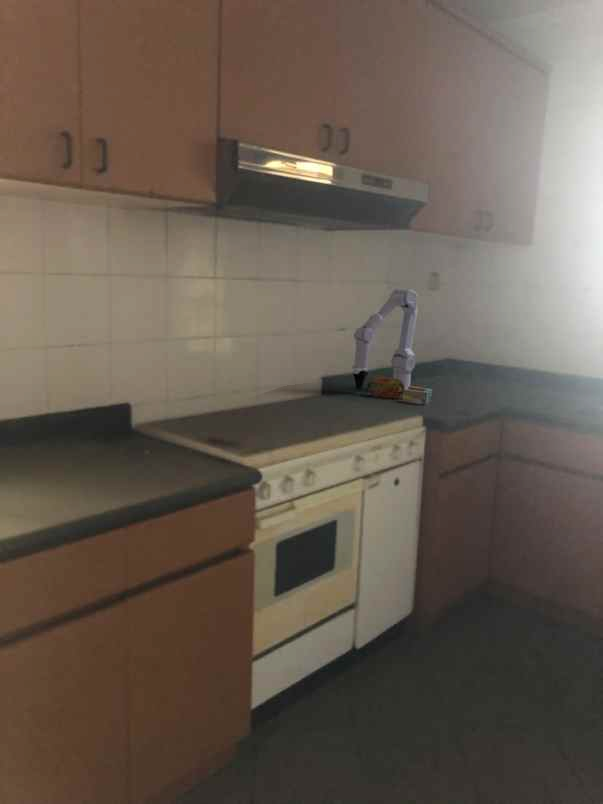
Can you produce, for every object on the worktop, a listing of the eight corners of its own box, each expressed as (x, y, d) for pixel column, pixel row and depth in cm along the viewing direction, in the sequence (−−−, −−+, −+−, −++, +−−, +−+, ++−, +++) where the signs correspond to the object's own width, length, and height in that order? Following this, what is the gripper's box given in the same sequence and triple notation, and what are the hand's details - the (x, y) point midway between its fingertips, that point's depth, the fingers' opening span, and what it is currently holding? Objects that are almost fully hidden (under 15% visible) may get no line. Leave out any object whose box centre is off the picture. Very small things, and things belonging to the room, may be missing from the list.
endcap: (408, 397, 276) (409, 386, 275) (430, 401, 273) (432, 389, 272) (402, 401, 267) (403, 389, 266) (426, 405, 264) (427, 392, 263)
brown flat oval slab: (366, 395, 275) (368, 375, 274) (368, 394, 278) (369, 374, 277) (402, 400, 271) (404, 379, 269) (403, 398, 274) (406, 378, 272)
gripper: (357, 353, 284) (355, 385, 286) (347, 357, 270) (344, 390, 273) (373, 355, 281) (370, 387, 284) (364, 359, 268) (361, 392, 271)
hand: (359, 388), depth 278 cm, fingers closed
